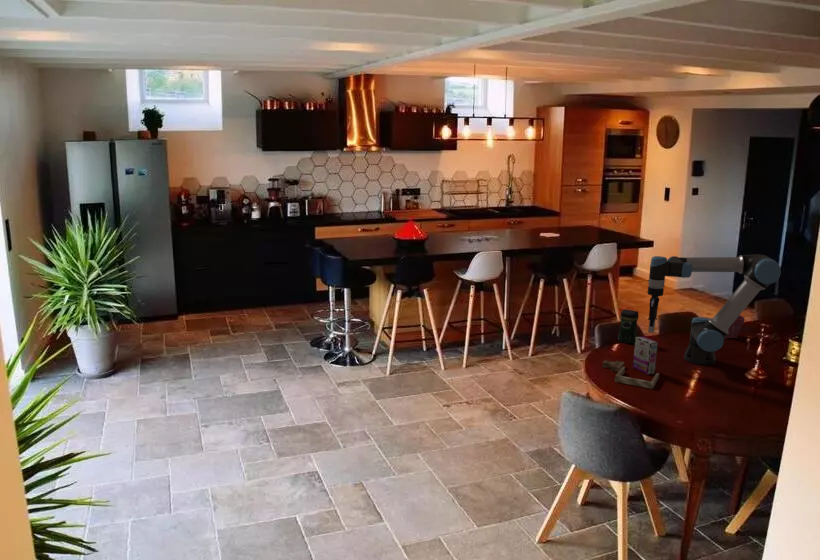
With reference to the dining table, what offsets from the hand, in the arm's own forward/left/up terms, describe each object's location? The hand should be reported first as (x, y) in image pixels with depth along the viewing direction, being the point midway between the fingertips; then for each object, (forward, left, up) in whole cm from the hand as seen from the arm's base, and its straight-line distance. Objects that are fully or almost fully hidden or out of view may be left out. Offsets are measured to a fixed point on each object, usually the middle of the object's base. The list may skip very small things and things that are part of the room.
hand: (651, 332), depth 350 cm
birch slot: (0, +27, -17) cm, 32 cm away
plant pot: (-31, -76, -17) cm, 84 cm away
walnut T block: (+14, +16, -17) cm, 27 cm away
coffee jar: (+18, -33, -17) cm, 41 cm away
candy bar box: (0, +12, -17) cm, 21 cm away
